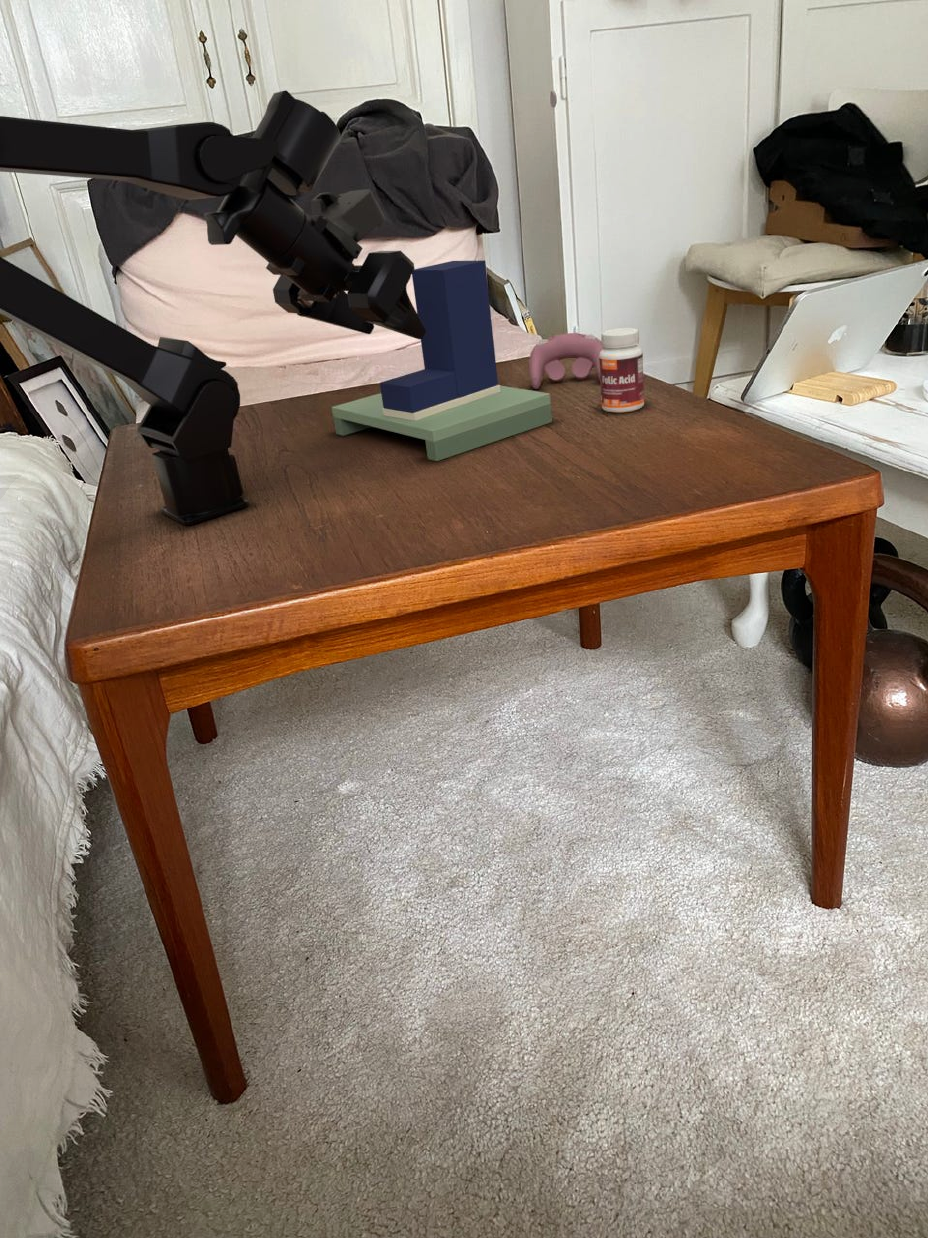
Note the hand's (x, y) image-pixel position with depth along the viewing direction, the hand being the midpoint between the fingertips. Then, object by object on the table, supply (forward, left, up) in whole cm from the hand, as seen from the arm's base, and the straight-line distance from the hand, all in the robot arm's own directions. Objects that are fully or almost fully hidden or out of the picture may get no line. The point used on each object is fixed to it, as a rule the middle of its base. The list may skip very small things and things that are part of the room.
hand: (396, 332), depth 99 cm
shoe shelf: (+5, +1, -12) cm, 13 cm away
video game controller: (+27, +3, -12) cm, 30 cm away
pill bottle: (+21, -12, -12) cm, 27 cm away
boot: (+4, -1, -8) cm, 10 cm away
